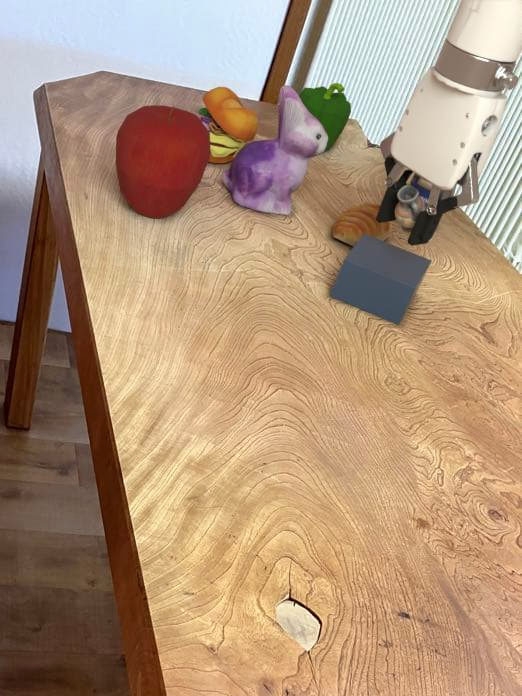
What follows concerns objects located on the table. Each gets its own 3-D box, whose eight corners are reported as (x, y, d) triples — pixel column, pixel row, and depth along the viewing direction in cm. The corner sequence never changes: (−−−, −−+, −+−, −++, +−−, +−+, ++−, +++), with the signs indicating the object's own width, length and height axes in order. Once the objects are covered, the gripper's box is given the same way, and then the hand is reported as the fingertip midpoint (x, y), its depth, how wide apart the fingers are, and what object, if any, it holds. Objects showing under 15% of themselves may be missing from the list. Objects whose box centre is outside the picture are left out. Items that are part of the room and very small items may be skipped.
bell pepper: (281, 130, 147) (301, 65, 140) (327, 137, 148) (349, 74, 141) (293, 152, 141) (314, 85, 134) (341, 159, 142) (365, 94, 136)
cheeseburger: (173, 129, 138) (205, 66, 131) (234, 162, 140) (268, 102, 133) (167, 153, 130) (200, 87, 124) (232, 187, 132) (267, 124, 126)
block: (349, 269, 115) (364, 233, 112) (415, 296, 114) (432, 260, 110) (329, 296, 109) (344, 258, 106) (398, 324, 107) (415, 287, 104)
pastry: (359, 256, 119) (370, 229, 116) (317, 234, 121) (327, 207, 118) (391, 239, 124) (402, 213, 122) (350, 218, 127) (360, 192, 124)
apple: (175, 190, 122) (200, 89, 113) (207, 233, 115) (236, 128, 106) (93, 187, 118) (111, 81, 109) (120, 231, 111) (142, 121, 102)
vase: (397, 248, 103) (417, 197, 99) (368, 226, 106) (386, 176, 102) (431, 244, 105) (452, 195, 101) (401, 224, 109) (420, 175, 105)
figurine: (309, 215, 125) (348, 104, 114) (249, 218, 121) (284, 103, 110) (273, 184, 130) (307, 75, 120) (214, 186, 126) (245, 73, 115)
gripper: (558, 100, 90) (474, 264, 103) (437, 37, 99) (373, 195, 112) (512, 103, 86) (431, 272, 99) (391, 37, 95) (331, 200, 108)
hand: (401, 230), depth 105 cm, fingers closed on vase, 4 cm apart
